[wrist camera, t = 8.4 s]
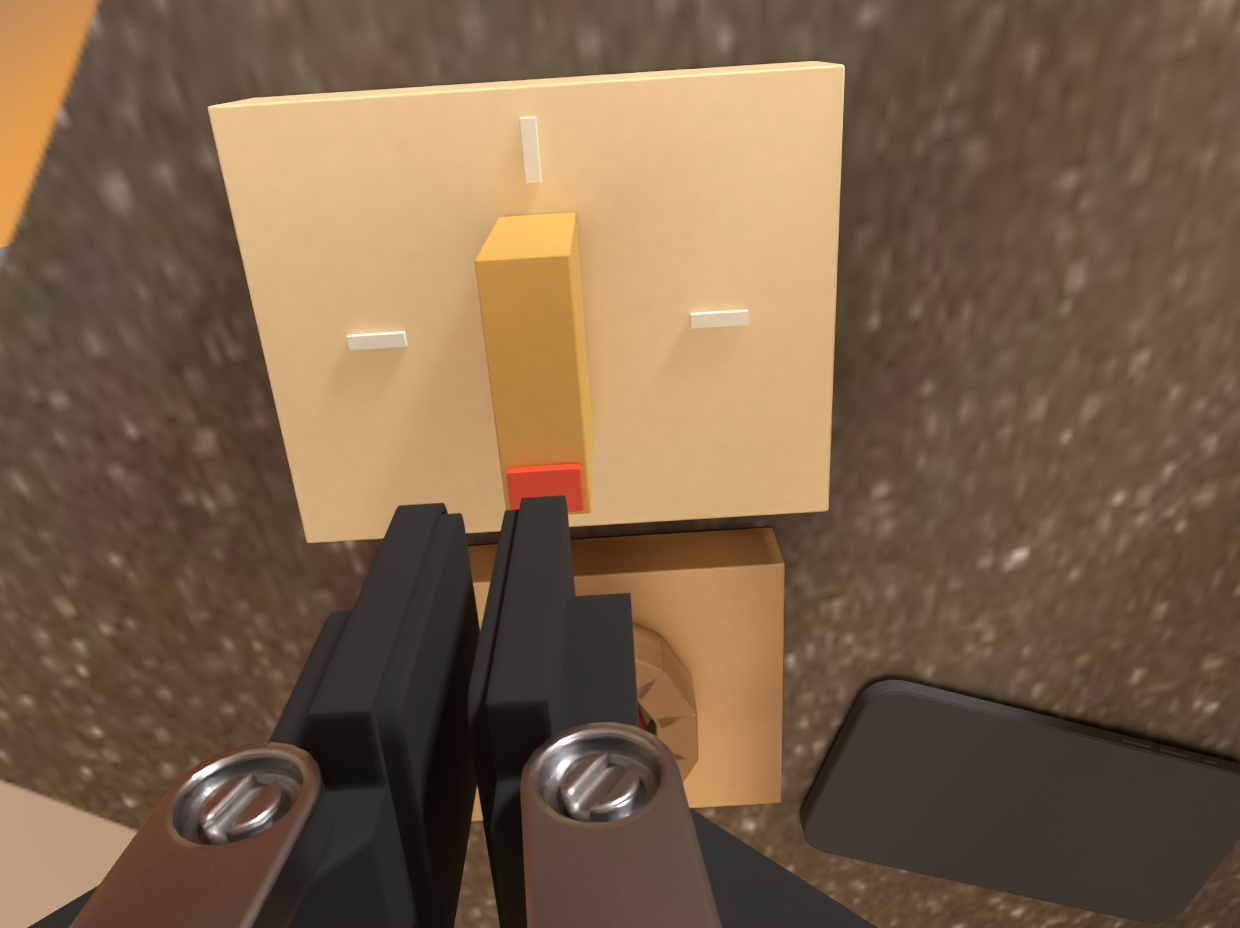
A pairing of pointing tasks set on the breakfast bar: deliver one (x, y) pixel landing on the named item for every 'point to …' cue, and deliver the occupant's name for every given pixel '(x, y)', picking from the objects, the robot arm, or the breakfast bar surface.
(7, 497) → the breakfast bar surface
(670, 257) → the dial plate
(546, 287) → the red-tipped yellow block
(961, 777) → the phone
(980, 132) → the breakfast bar surface
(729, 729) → the wooden button base
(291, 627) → the breakfast bar surface
